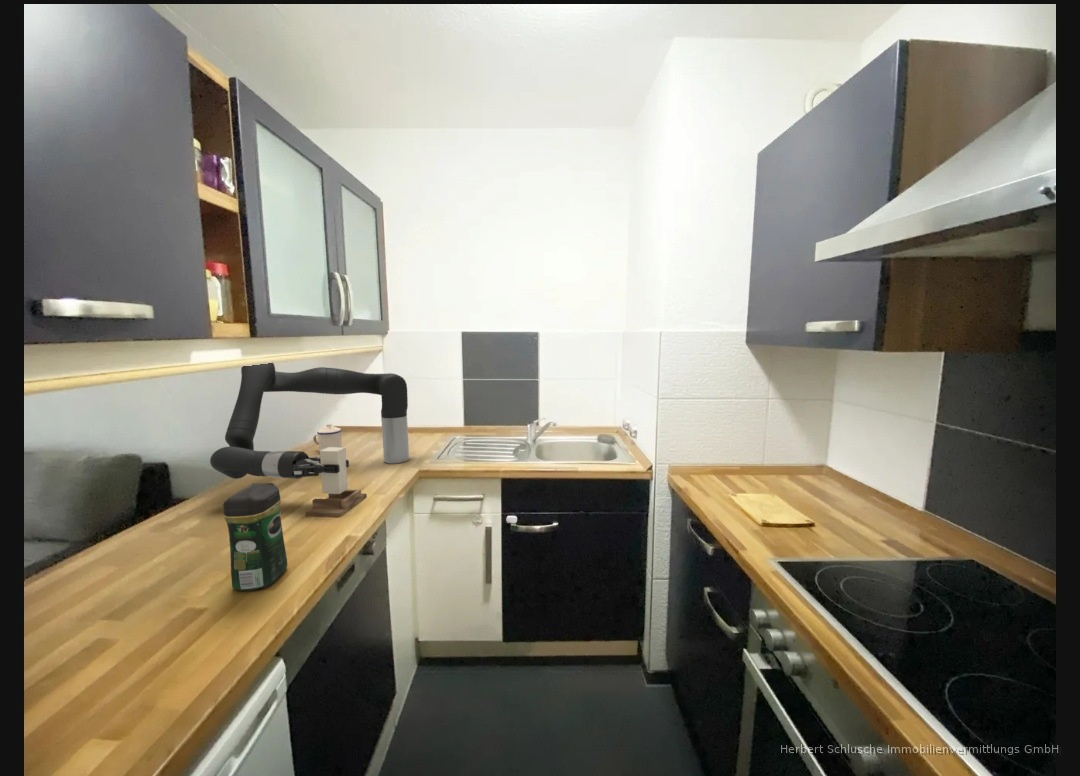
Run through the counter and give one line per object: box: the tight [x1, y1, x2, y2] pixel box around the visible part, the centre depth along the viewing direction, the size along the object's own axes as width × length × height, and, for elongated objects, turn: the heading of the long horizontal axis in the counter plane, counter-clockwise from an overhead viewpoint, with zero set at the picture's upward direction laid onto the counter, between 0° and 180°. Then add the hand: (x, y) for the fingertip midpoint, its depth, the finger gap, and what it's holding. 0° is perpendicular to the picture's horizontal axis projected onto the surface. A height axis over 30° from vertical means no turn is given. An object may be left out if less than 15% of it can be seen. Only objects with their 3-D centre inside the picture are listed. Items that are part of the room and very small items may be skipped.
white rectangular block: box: [319, 446, 349, 495], centre depth 117 cm, size 4×5×12 cm
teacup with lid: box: [312, 423, 343, 453], centre depth 175 cm, size 12×9×12 cm
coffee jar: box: [222, 482, 288, 592], centre depth 82 cm, size 10×8×19 cm
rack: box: [304, 489, 368, 518], centre depth 118 cm, size 14×10×3 cm
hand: (343, 466), depth 117 cm, fingers closed on white rectangular block, 4 cm apart
